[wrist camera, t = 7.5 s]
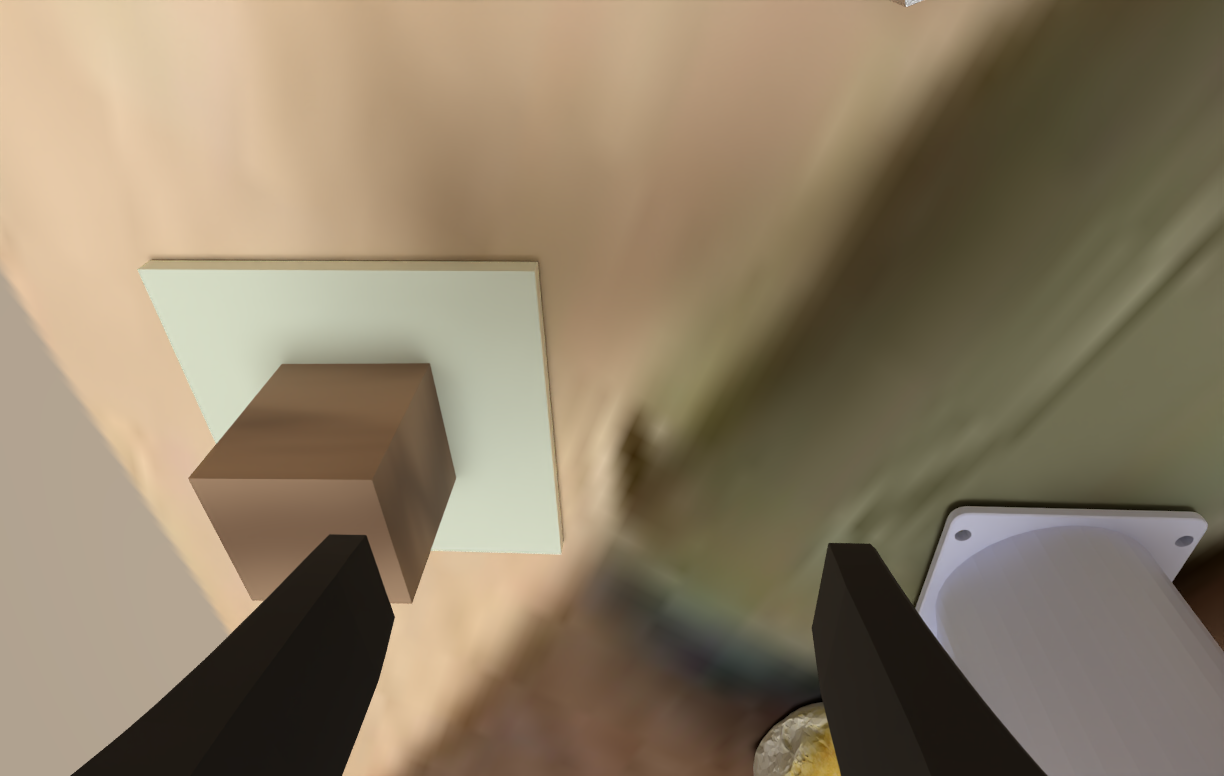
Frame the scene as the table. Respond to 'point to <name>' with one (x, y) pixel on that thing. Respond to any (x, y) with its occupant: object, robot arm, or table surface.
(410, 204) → the table surface
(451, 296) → the plate
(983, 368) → the table surface
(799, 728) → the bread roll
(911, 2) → the grey metal block
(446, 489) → the walnut block
